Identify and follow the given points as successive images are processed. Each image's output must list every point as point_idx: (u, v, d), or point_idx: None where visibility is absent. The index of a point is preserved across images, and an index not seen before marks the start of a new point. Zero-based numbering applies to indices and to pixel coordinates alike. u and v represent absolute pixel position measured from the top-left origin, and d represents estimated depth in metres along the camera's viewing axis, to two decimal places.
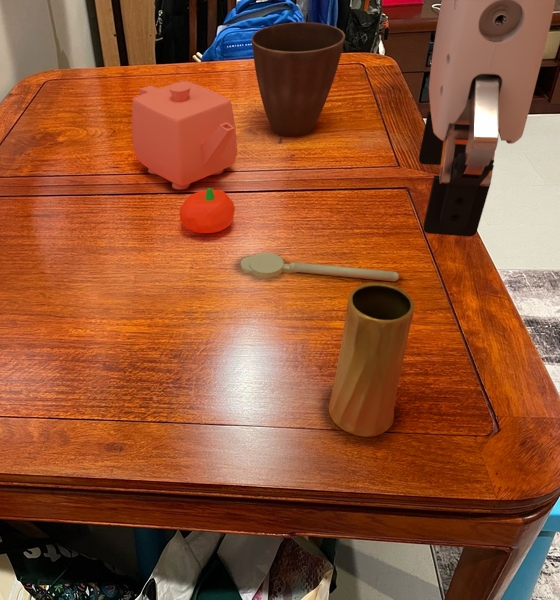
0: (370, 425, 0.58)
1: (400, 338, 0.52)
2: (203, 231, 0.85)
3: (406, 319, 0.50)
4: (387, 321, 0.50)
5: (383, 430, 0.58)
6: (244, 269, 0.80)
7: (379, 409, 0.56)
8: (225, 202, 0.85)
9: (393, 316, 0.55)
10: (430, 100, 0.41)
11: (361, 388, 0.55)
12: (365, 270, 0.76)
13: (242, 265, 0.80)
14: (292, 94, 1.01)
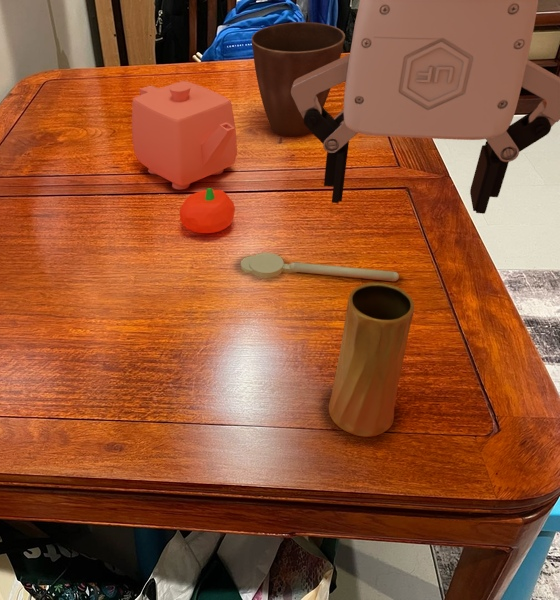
0: (370, 425, 0.58)
1: (400, 338, 0.52)
2: (203, 231, 0.85)
3: (406, 319, 0.50)
4: (387, 321, 0.50)
5: (383, 430, 0.58)
6: (244, 269, 0.80)
7: (379, 409, 0.56)
8: (225, 202, 0.85)
9: (393, 316, 0.55)
10: None
11: (361, 388, 0.55)
12: (365, 270, 0.76)
13: (242, 265, 0.80)
14: None
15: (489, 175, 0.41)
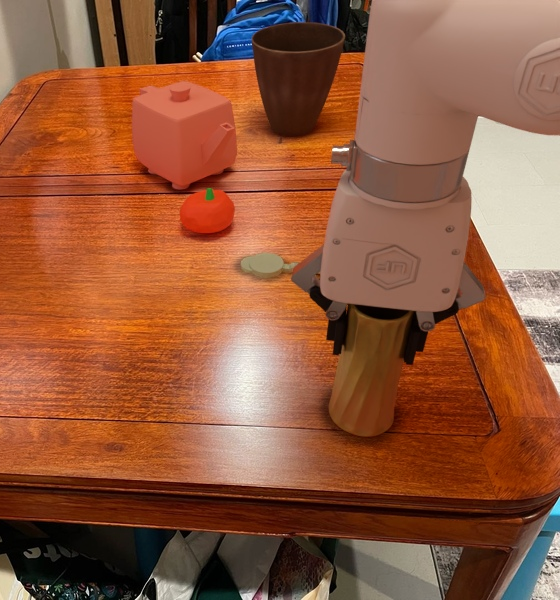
0: (370, 425, 0.58)
1: (400, 338, 0.52)
2: (203, 231, 0.85)
3: (406, 319, 0.50)
4: (387, 321, 0.50)
5: (383, 430, 0.58)
6: (244, 269, 0.80)
7: (379, 409, 0.56)
8: (225, 202, 0.85)
9: (393, 316, 0.55)
10: None
11: (362, 388, 0.55)
12: None
13: (242, 265, 0.80)
14: (292, 94, 1.01)
15: (413, 340, 0.51)
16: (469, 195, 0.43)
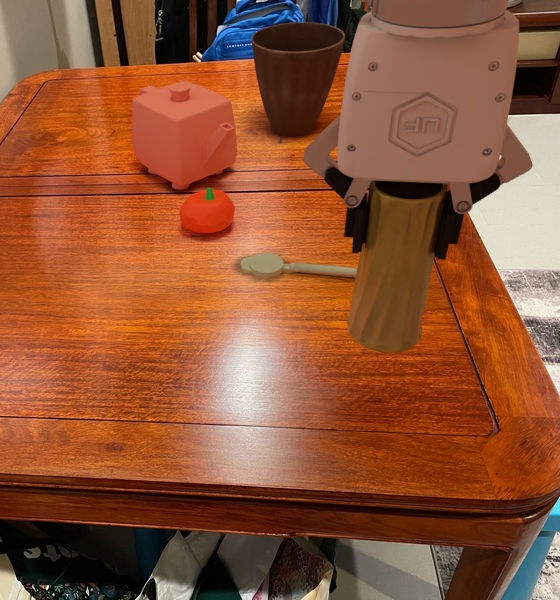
0: (396, 338, 0.50)
1: (431, 224, 0.44)
2: (203, 231, 0.85)
3: (439, 198, 0.43)
4: (417, 200, 0.43)
5: (410, 345, 0.51)
6: (244, 269, 0.80)
7: (406, 317, 0.49)
8: (225, 202, 0.85)
9: None
10: None
11: (386, 291, 0.48)
12: None
13: (242, 265, 0.80)
14: (292, 94, 1.01)
15: (446, 226, 0.44)
16: (516, 23, 0.36)
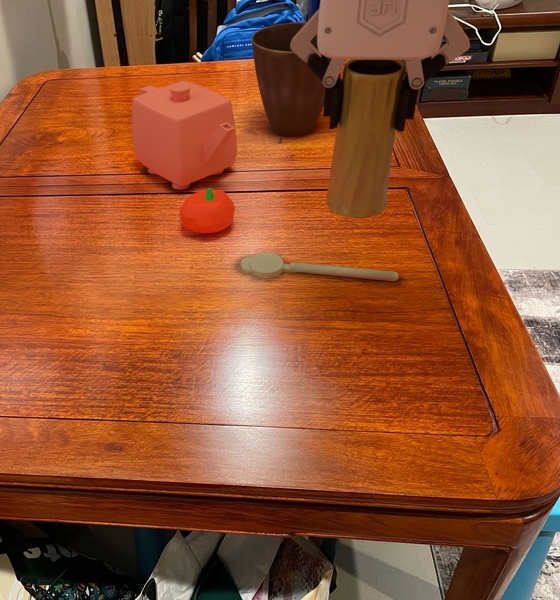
0: (365, 204, 0.62)
1: (392, 98, 0.55)
2: (203, 231, 0.85)
3: (397, 75, 0.54)
4: (380, 75, 0.54)
5: (377, 211, 0.62)
6: (244, 269, 0.80)
7: (373, 184, 0.60)
8: (225, 202, 0.85)
9: None
10: None
11: (356, 160, 0.59)
12: (365, 270, 0.76)
13: (242, 265, 0.80)
14: (292, 94, 1.01)
15: (404, 100, 0.55)
16: None
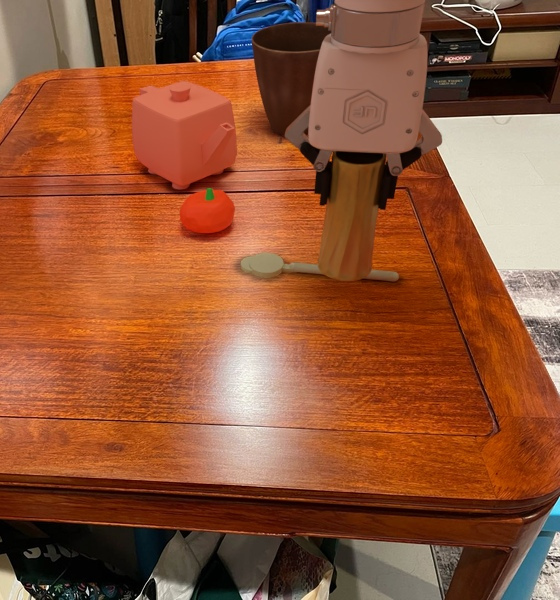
0: (351, 270, 0.69)
1: (374, 183, 0.63)
2: (203, 231, 0.85)
3: (379, 164, 0.61)
4: (363, 165, 0.61)
5: (363, 275, 0.70)
6: (244, 269, 0.80)
7: (359, 253, 0.67)
8: (225, 202, 0.85)
9: None
10: None
11: (344, 233, 0.66)
12: None
13: (242, 265, 0.80)
14: (292, 94, 1.01)
15: (385, 184, 0.63)
16: (425, 44, 0.54)
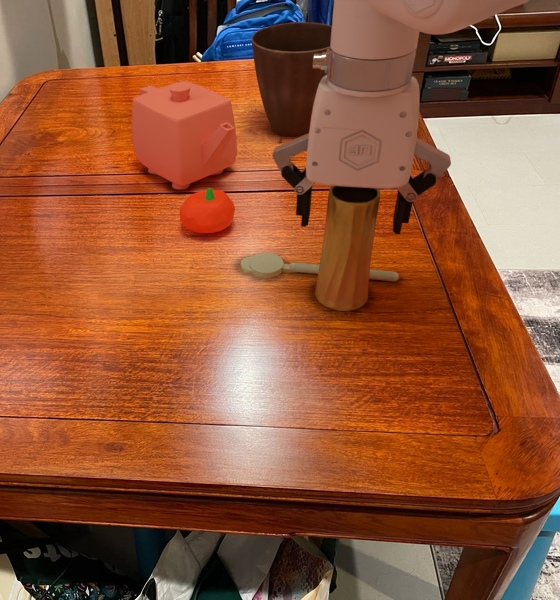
0: (348, 300, 0.72)
1: (369, 220, 0.65)
2: (203, 231, 0.85)
3: (373, 202, 0.64)
4: (358, 203, 0.64)
5: (358, 305, 0.72)
6: (244, 269, 0.80)
7: (355, 285, 0.70)
8: (225, 202, 0.85)
9: None
10: None
11: (340, 266, 0.69)
12: None
13: (242, 265, 0.80)
14: (292, 94, 1.01)
15: (400, 210, 0.64)
16: (417, 88, 0.56)
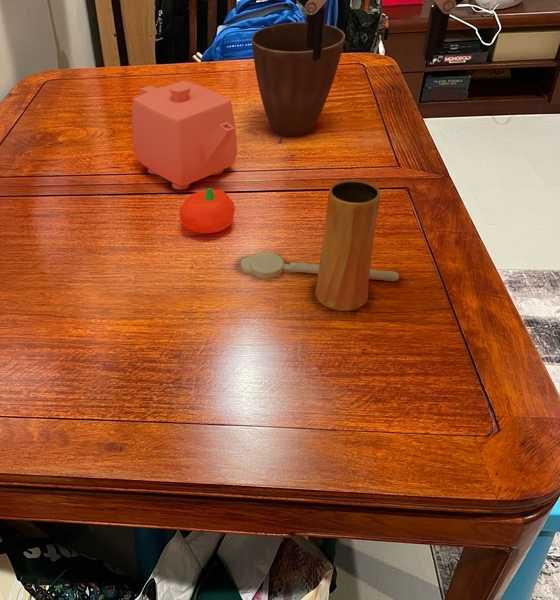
0: (348, 300, 0.72)
1: (369, 220, 0.65)
2: (203, 231, 0.85)
3: (373, 202, 0.64)
4: (358, 203, 0.64)
5: (358, 305, 0.72)
6: (244, 269, 0.80)
7: (355, 285, 0.70)
8: (225, 202, 0.85)
9: None
10: None
11: (340, 266, 0.69)
12: None
13: (242, 265, 0.80)
14: (292, 94, 1.01)
15: (434, 26, 0.53)
16: None
